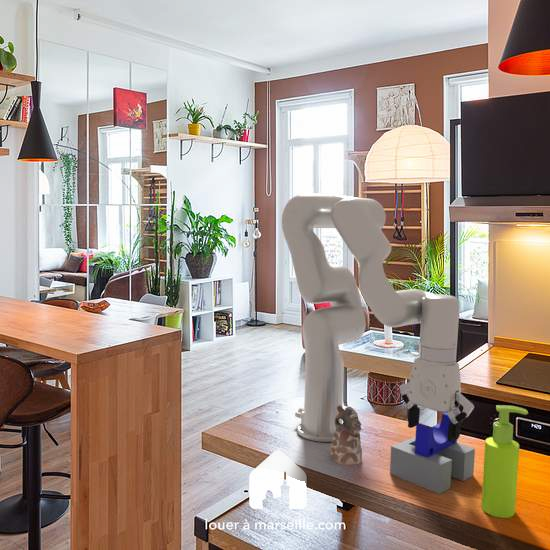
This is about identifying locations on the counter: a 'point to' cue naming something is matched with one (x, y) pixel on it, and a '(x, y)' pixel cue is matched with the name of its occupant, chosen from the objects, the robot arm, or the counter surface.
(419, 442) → the cable clip
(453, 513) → the counter surface
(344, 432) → the figurine
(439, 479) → the slotted block
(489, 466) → the soap dispenser
